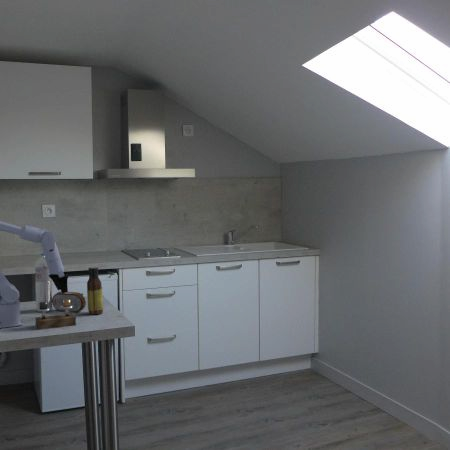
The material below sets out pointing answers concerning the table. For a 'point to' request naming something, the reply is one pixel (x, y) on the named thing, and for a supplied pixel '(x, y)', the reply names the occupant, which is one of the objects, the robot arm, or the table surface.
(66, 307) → the copper plunger
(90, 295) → the sauce bottle
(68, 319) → the stand
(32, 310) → the table surface
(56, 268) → the robot arm
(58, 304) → the tin
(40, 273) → the water bottle
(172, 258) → the table surface
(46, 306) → the chrome threaded knob
